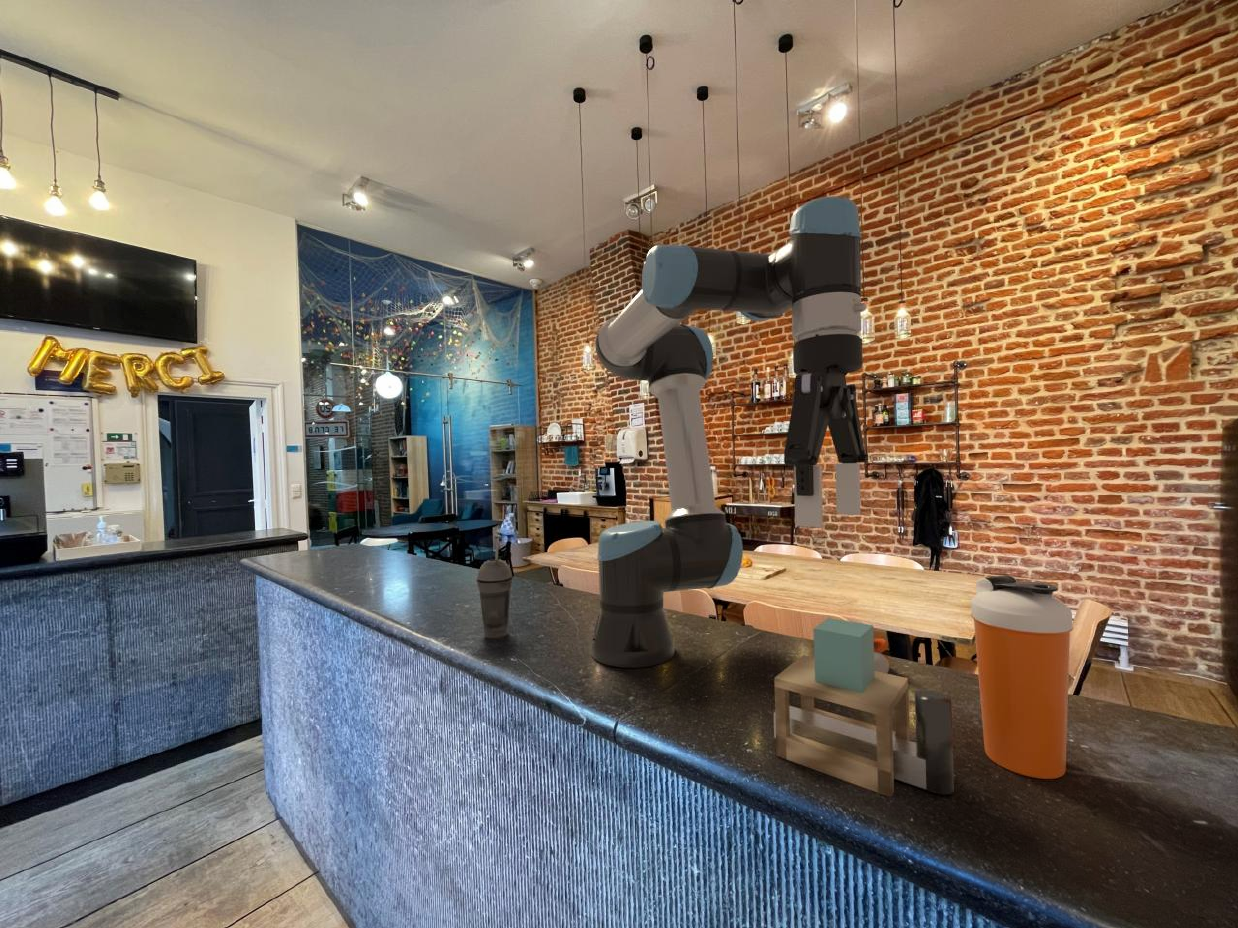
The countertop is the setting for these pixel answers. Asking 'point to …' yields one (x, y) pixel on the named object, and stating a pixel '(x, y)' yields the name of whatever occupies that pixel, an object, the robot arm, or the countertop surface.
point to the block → (844, 654)
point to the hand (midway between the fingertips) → (830, 520)
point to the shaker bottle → (1023, 674)
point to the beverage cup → (495, 595)
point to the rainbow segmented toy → (881, 656)
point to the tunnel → (875, 699)
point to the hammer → (894, 741)
